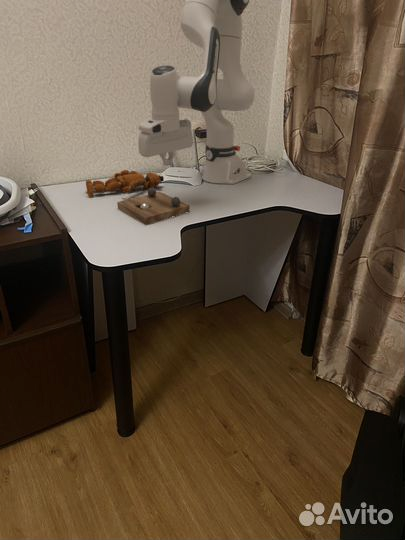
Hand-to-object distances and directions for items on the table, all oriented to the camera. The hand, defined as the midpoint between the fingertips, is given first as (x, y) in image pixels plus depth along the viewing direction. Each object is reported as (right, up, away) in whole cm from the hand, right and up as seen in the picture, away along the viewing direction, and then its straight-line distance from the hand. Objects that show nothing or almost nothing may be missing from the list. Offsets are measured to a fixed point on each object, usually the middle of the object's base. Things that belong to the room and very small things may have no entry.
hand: (167, 164), depth 135 cm
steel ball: (-8, -15, 0) cm, 17 cm away
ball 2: (+3, -13, 0) cm, 13 cm away
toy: (-18, -5, +21) cm, 28 cm away
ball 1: (-7, -8, +8) cm, 13 cm away
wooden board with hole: (-5, -15, +3) cm, 16 cm away
